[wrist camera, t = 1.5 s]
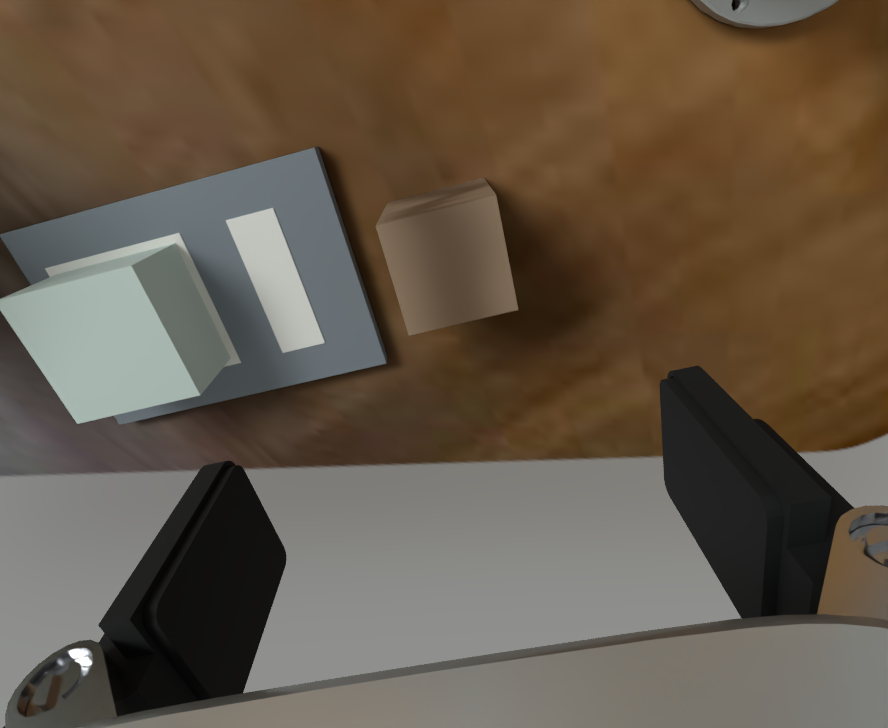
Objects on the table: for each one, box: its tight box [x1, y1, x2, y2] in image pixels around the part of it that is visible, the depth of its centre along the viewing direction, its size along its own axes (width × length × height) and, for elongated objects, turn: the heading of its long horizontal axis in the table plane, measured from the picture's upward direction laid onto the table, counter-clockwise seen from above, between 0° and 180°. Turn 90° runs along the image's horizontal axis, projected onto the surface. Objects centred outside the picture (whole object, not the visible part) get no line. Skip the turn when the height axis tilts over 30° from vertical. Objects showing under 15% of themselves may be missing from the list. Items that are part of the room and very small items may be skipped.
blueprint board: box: [0, 147, 388, 425], centre depth 33 cm, size 20×14×1 cm
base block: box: [0, 243, 231, 424], centre depth 31 cm, size 8×8×5 cm
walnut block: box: [376, 178, 518, 335], centre depth 29 cm, size 6×6×7 cm
